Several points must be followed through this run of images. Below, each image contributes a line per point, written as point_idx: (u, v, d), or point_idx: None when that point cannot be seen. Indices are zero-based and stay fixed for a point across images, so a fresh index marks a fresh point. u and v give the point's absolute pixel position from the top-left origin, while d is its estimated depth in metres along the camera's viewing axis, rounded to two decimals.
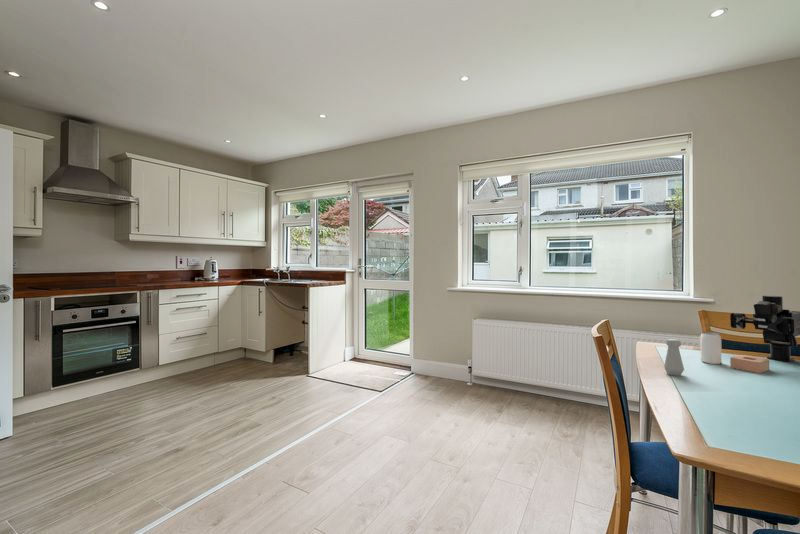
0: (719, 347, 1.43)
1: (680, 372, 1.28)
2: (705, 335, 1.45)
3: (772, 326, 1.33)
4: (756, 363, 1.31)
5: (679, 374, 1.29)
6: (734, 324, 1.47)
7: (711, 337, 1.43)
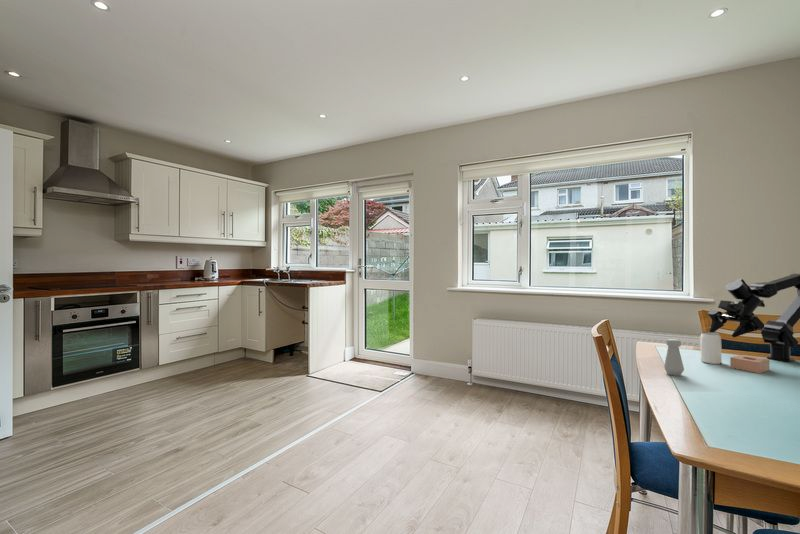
0: (719, 347, 1.43)
1: (680, 372, 1.28)
2: (705, 335, 1.45)
3: (737, 333, 1.41)
4: (756, 363, 1.31)
5: (679, 374, 1.29)
6: None
7: (711, 337, 1.43)
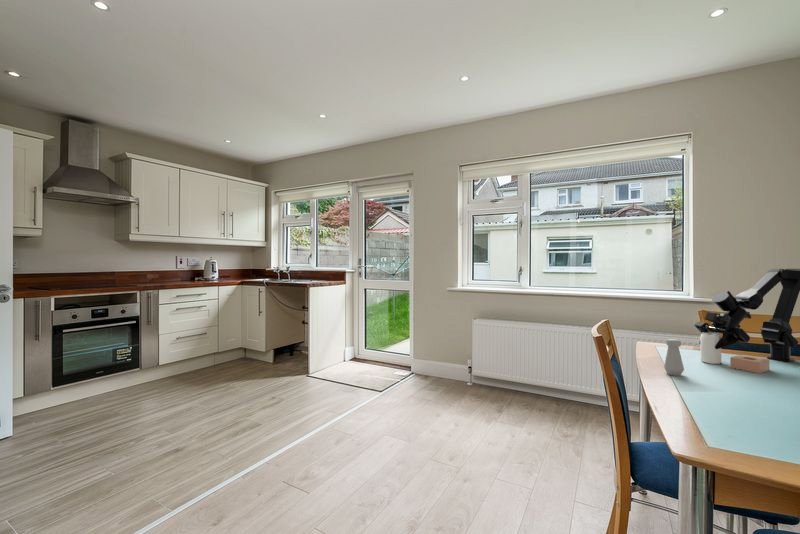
0: None
1: (680, 372, 1.28)
2: (705, 335, 1.45)
3: (719, 345, 1.42)
4: (756, 363, 1.31)
5: (679, 374, 1.29)
6: None
7: (711, 337, 1.43)
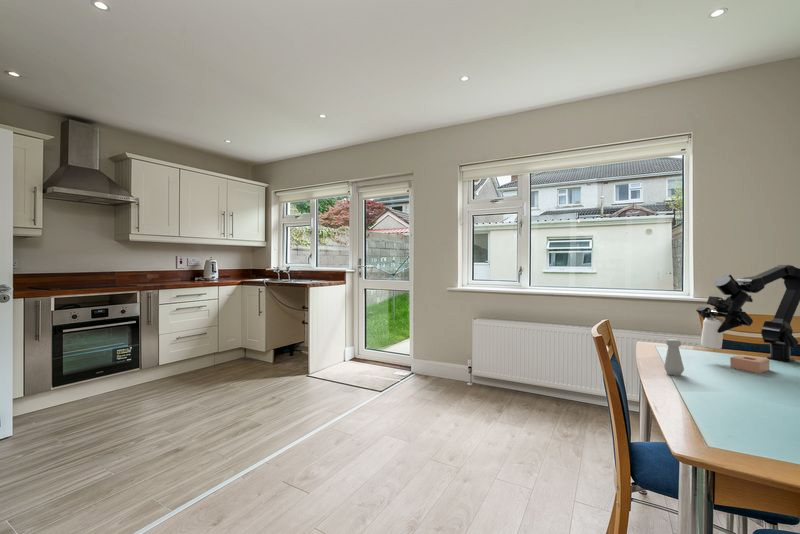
0: (721, 333, 1.42)
1: (680, 372, 1.28)
2: (708, 320, 1.44)
3: (722, 329, 1.41)
4: (756, 363, 1.31)
5: (679, 374, 1.29)
6: None
7: (714, 323, 1.42)
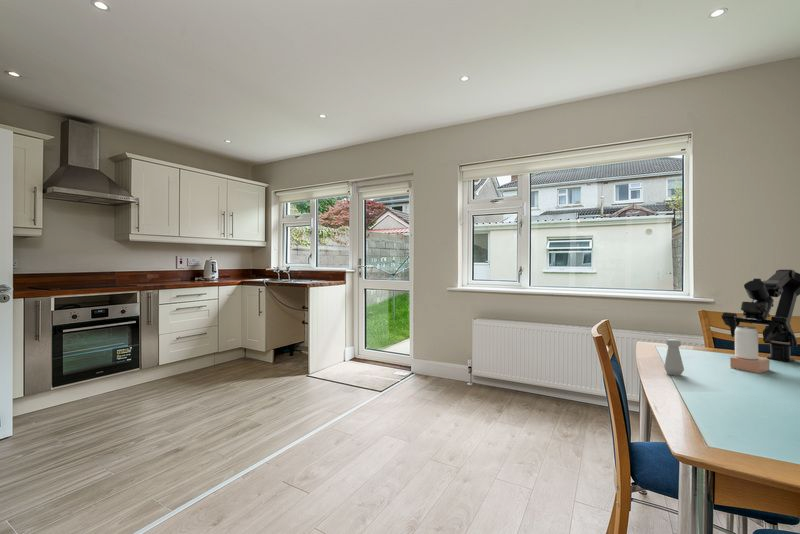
0: (757, 341, 1.34)
1: (680, 372, 1.28)
2: (744, 329, 1.35)
3: (767, 337, 1.31)
4: (756, 363, 1.31)
5: (679, 374, 1.29)
6: (728, 325, 1.45)
7: (751, 331, 1.34)
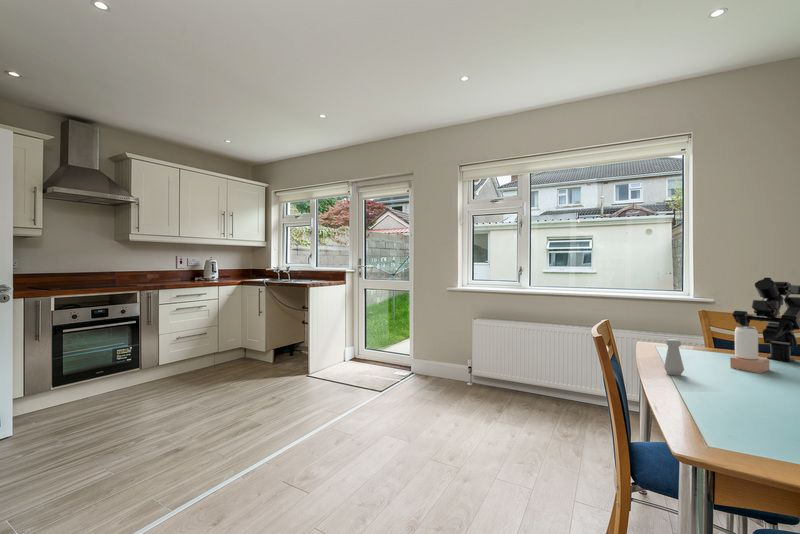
0: (757, 341, 1.34)
1: (680, 372, 1.28)
2: (744, 329, 1.35)
3: (778, 334, 1.35)
4: (756, 363, 1.31)
5: (679, 374, 1.29)
6: (739, 322, 1.49)
7: (751, 331, 1.34)
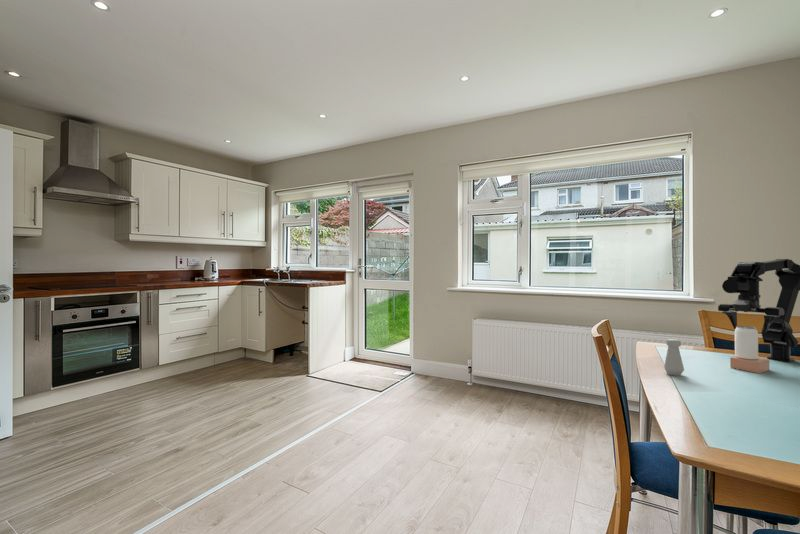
0: (757, 341, 1.34)
1: (680, 372, 1.28)
2: (744, 329, 1.35)
3: (767, 328, 1.40)
4: (756, 363, 1.31)
5: (679, 374, 1.29)
6: None
7: (751, 331, 1.34)
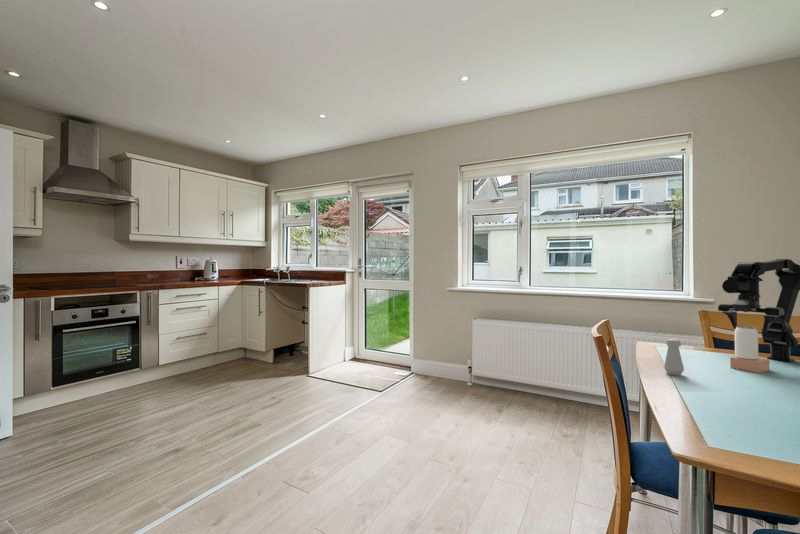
0: (757, 341, 1.34)
1: (680, 372, 1.28)
2: (744, 329, 1.35)
3: (767, 328, 1.40)
4: (756, 363, 1.31)
5: (679, 374, 1.29)
6: None
7: (751, 331, 1.34)
